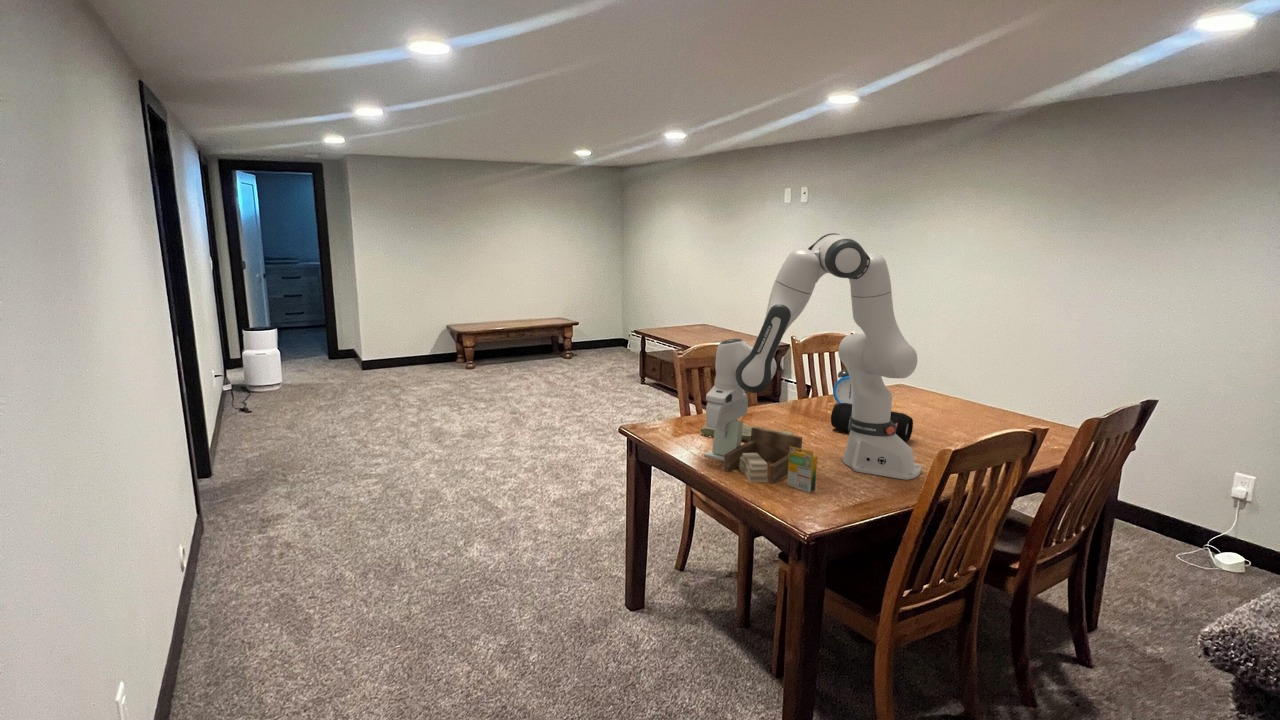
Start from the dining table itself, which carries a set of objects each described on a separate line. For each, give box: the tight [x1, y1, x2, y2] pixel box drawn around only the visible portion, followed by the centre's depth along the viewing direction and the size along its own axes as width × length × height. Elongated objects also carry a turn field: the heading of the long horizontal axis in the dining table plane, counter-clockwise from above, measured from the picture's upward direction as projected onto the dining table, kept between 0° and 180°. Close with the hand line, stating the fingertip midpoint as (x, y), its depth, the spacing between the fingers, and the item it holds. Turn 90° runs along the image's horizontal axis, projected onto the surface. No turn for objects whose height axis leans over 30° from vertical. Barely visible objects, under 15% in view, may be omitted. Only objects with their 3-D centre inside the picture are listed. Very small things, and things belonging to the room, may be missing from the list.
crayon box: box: [786, 446, 818, 494], centre depth 183 cm, size 7×3×12 cm, turn 48°
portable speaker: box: [830, 403, 914, 443], centre depth 230 cm, size 26×10×10 cm, turn 52°
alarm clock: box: [832, 369, 853, 404], centre depth 265 cm, size 13×6×15 cm, turn 61°
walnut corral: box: [723, 427, 803, 485], centre depth 197 cm, size 16×18×9 cm
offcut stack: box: [738, 453, 769, 483], centre depth 193 cm, size 12×5×5 cm, turn 9°
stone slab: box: [699, 424, 794, 442], centre depth 227 cm, size 12×4×30 cm
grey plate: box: [703, 449, 725, 462], centre depth 208 cm, size 11×8×1 cm
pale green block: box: [711, 419, 744, 456], centre depth 206 cm, size 8×3×11 cm, turn 54°
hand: (726, 435), depth 206 cm, fingers closed on pale green block, 3 cm apart
